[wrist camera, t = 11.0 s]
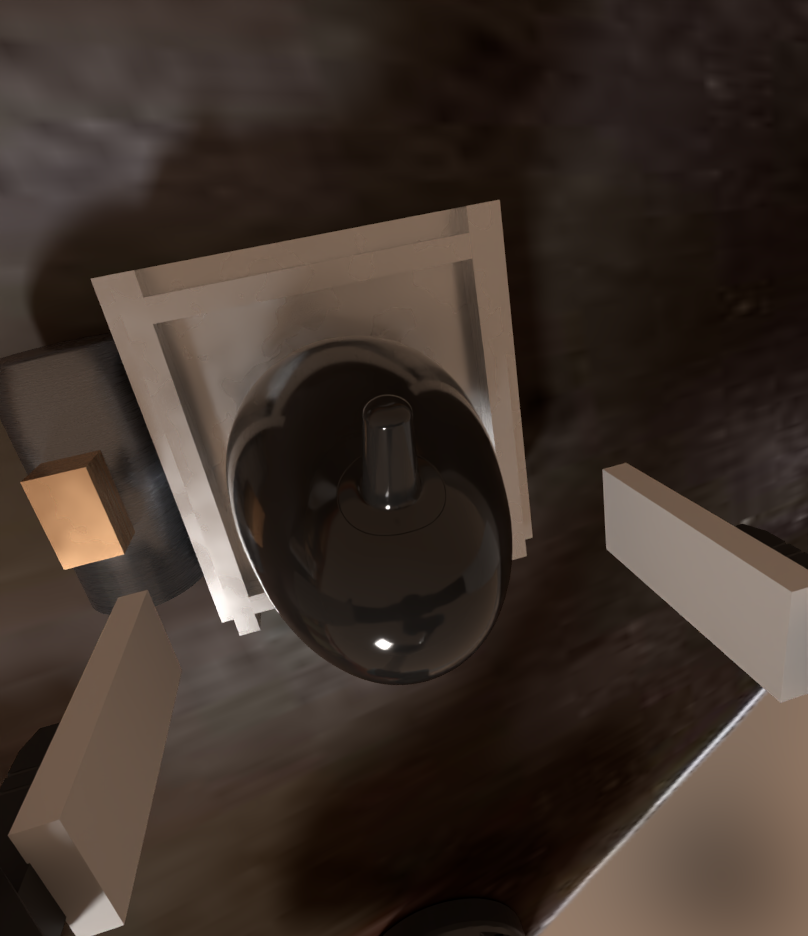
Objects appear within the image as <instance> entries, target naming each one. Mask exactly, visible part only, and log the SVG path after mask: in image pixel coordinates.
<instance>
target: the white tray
mask: <svg viewBox="0 0 808 936" xmlns="http://www.w3.org/2000/svg"><path fill="white" fill-rule="evenodd" d="M91 282H92V284H93V287H94V289H95V292H96V295H97V297H98V300H99V302H100V305H101V308H102V310H103V313H104V315H105V318H106V321H107V323H108V326H109V329H110V331H111V333H107V334H101V335H95V336H90V337H85V338H79V339H75V340H70V341H65V342H61V343H57V344H52V345H48V346H44V347H40V348H36V349H32V350H28V351H24V352H21V353H17V354H13V355H10V356H7V357H3V358H0V420H1V422H2V424H3V426H4V428H5V430H6V432H7V434H8V436H9V438H10V440H11V442H12V444H13V446H14V448H15V450H16V452H17V454H18V456H19V458H20V460H21V462H22V464H23V466H24V468H25V470H26V472H27V474H28V476H27V477H26V478H25V479H23V480H22V481H21V482H20V483H21V485H22V487H23V489H24V491H25V493H26V495H27V497H28V499H29V501H30V503H31V505H32V507H33V509H34V511H35V513H36V515H37V517H38V519H39V521H40V523H41V525H42V527H43V529H44V531H45V533H46V535H47V537H48V539H49V541H50V543H51V545H52V547H53V549H54V551H55V553H56V555H57V557H58V559H59V561H60V563H61V565H62V567H63V569H64V570H65V569H69V568H74V570H75V572H76V574H77V576H78V578H79V580H80V582H81V584H82V586H83V588H84V590H85V592H86V594H87V596H88V598H89V601H90V603H91V605H92V607H93V608H94V609H95V610H96V611H98V612H100V613H103V614H109V615H110V614H111V612H112V609H113V607H114V605H115V603H116V601H117V599H118V597H122V596H126V595H129V594H133V593H137V592H141V591H145V590H148V591H149V594H150V596H151V599H152V601H153V603H154V606H157V605H159V604H162V603H164V602H166V601H168V600H170V599H172V598H174V597H176V596H178V595H179V594H181V593H183V592H184V591H186V590H187V589H189V588H190V587H191V586H192V585H194V584H195V583H196V582H197V581H198V580H199V579H200V578H201V577H202V576H203V575H204V577H205V579H206V582H207V584H208V587H209V590H210V592H211V595H212V598H213V600H214V603H215V605H216V608H217V611H218V613H219V616H220V618H221V621H222V622H226V621H230V620H233V619H234V621H235V624H236V627H237V629H238V632H239V635H240V636H241V635H244V634H248V633H251V632H255V631H259V630H260V623H261V612H263V611H267V610H270V609H274V606H273V605H272V603H271V601H270V600H269V598H268V597H267V595H266V593H265V591H264V590H263V588H262V586H261V584H260V582H259V580H258V579H257V577H256V575H255V573H254V571H253V569H252V567H251V565H250V562H249V560H248V558H247V556H246V554H245V551H244V549H243V546H242V544H241V541H240V538H239V535H238V532H237V529H236V526H235V522H234V519H233V514H232V510H231V506H230V501H229V495H228V489H227V481H226V453H227V445H228V439H229V435H230V431H231V427H232V424H233V421H234V418H235V416H236V413H237V411H238V409H239V407H240V405H241V403H242V401H243V399H244V398H245V396H246V394H247V393H248V391H249V390H250V389H251V387H252V386H253V385H254V383H255V382H256V381H257V380H258V379H259V378H260V377H261V376H262V374H264V373H265V372H266V371H267V370H268V369H269V368H270V367H271V366H272V365H274V364H275V363H276V362H277V361H279V360H280V359H282V358H283V357H285V356H286V355H288V354H290V353H291V352H293V351H295V350H297V349H299V348H301V347H303V346H306V345H308V344H311V343H314V342H317V341H320V340H324V339H328V338H332V337H338V336H348V335H366V336H375V337H381V338H386V339H390V340H394V341H397V342H400V343H403V344H405V345H408V346H410V347H412V348H414V349H416V350H418V351H420V352H421V353H423V354H425V355H426V356H428V357H429V358H431V359H432V360H433V361H435V362H436V363H437V364H439V365H440V366H441V367H442V368H443V369H444V370H445V371H447V372H448V373H449V374H450V375H451V376H452V377H453V379H454V380H455V381H456V382H457V383H458V384H459V385H460V387H461V388H462V389H463V391H464V392H465V394H466V395H467V396H468V398H469V399H470V401H471V403H472V404H473V406H474V408H475V409H476V411H477V413H478V415H479V417H480V418H481V420H482V422H483V424H484V426H485V428H486V430H487V433H488V435H489V437H490V439H491V442H492V444H493V447H494V450H495V453H496V456H497V459H498V462H499V465H500V469H501V473H502V476H503V480H504V485H505V489H506V493H507V498H508V503H509V509H510V515H511V523H512V546H513V549H512V560H514V559H518V558H521V557H525V556H527V554H526V544H525V539H529V538H533V536H532V525H531V515H530V505H529V495H528V484H527V474H526V464H525V454H524V443H523V433H522V423H521V413H520V402H519V392H518V382H517V372H516V361H515V351H514V341H513V331H512V320H511V310H510V300H509V290H508V279H507V269H506V259H505V249H504V238H503V228H502V218H501V208H500V200H495V201H490V202H484V203H479V204H474V205H469V206H464V207H459V208H454V209H449V210H443V211H438V212H433V213H428V214H423V215H418V216H412V217H407V218H402V219H397V220H392V221H386V222H381V223H376V224H371V225H366V226H361V227H355V228H350V229H345V230H340V231H335V232H330V233H324V234H319V235H314V236H309V237H304V238H298V239H293V240H288V241H283V242H278V243H273V244H267V245H262V246H257V247H252V248H247V249H241V250H236V251H231V252H226V253H221V254H216V255H210V256H205V257H200V258H195V259H190V260H184V261H179V262H174V263H169V264H164V265H159V266H153V267H148V268H143V269H138V270H132V271H127V272H122V273H117V274H112V275H106V276H102V277H96V278H91Z"/></svg>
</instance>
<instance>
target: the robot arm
mask: <svg viewBox="0 0 808 936" xmlns="http://www.w3.org/2000/svg"><path fill="white" fill-rule="evenodd" d="M602 471H603V491H604V512H605V533H606V549H607V550H608V551H609V552H610V553H611V554H613V555H614V556H615V557H616V558H617V559H618V560H619V561H620V562H622V563H623V564H624V565H625V566H626V567H627V568H628V569H630V570H631V571H632V572H633V573H634V574H635V575H636V576H637V577H639V578H640V579H641V580H642V581H643V582H644V583H645V584H647V585H648V586H649V587H650V588H651V589H652V590H653V591H654V592H656V593H657V594H658V595H659V596H660V597H661V598H662V599H664V600H665V601H666V602H667V603H668V604H669V605H670V606H671V607H673V608H674V609H675V610H676V611H677V612H678V613H679V614H680V615H682V616H683V617H684V618H685V619H686V620H687V621H688V622H690V623H691V624H692V625H693V626H694V627H695V628H696V629H697V630H699V631H700V632H701V633H702V634H703V635H704V636H705V637H707V638H708V639H709V640H710V641H711V642H712V643H713V644H714V645H716V646H717V647H718V648H719V649H720V650H721V651H722V652H723V653H725V654H726V655H727V656H728V657H729V658H730V659H731V660H733V661H734V662H735V663H736V664H737V665H738V666H739V667H740V668H742V669H743V670H744V671H745V672H746V673H747V674H748V675H750V676H751V677H752V678H753V679H754V680H755V681H756V682H757V683H759V684H760V685H761V686H762V687H763V688H764V689H765V690H767V691H768V692H769V693H770V694H771V695H772V696H773V697H775V698H776V699H777V700H778V701H779V702H780V703H782V702H784V701H787V700H790V699H793V698H796V697H799V696H802V695H805V694H808V554H807V553H805V552H804V553H802V552H801V550H800V549H798V548H796V547H794V546H792V545H791V544H786V543H785V541H783V540H782V539H780V538H778V537H776V536H775V535H773V534H771V533H769V532H767V531H765V530H761V529H758V528H755V527H751V526H748V525H745V524H740V525H737V526H733V525H731V524H729V523H728V522H726V521H724V520H723V519H721V518H719V517H717V516H716V515H714V514H712V513H711V512H709V511H707V510H706V509H704V508H702V507H700V506H699V505H697V504H695V503H694V502H692V501H690V500H689V499H687V498H685V497H683V496H682V495H680V494H678V493H677V492H675V491H673V490H671V489H670V488H668V487H666V486H665V485H663V484H661V483H660V482H658V481H656V480H654V479H653V478H651V477H649V476H648V475H646V474H644V473H643V472H641V471H639V470H637V469H636V468H634V467H632V466H631V465H629V464H627V463H624V464H620V465H616V466H612V467H609V468H605V469H602ZM181 672H182V669H181V667H180V664H179V662H178V659H177V657H176V655H175V652H174V650H173V648H172V645H171V643H170V641H169V638H168V636H167V634H166V631H165V629H164V627H163V624H162V622H161V620H160V617H159V615H158V613H157V610H156V608H155V606H154V603H153V601H152V599H151V596H150V594H149V591H148V590H145V591H141V592H137V593H133V594H129V595H126V596H122V597H118V599H117V601H116V603H115V605H114V607H113V609H112V612H111V614H110V616H109V618H108V620H107V622H106V625H105V627H104V629H103V631H102V633H101V635H100V637H99V640H98V642H97V644H96V646H95V648H94V650H93V653H92V655H91V657H90V659H89V661H88V663H87V666H86V668H85V670H84V672H83V674H82V676H81V679H80V681H79V683H78V685H77V687H76V689H75V692H74V694H73V696H72V698H71V700H70V702H69V704H68V707H67V709H66V711H65V713H64V715H63V717H62V720H61V722H60V723H57V724H54V725H50V726H47V727H43V728H40V729H39V730H38V731H37V732H36V733H35V734H34V736H33V737H32V738H31V739H30V740H29V741H28V742H27V743H26V744H25V746H24V747H23V748H22V749H21V750H20V751H19V753H18V755H17V757H16V759H15V761H14V763H13V765H12V766H11V768H10V770H9V772H8V778H5V780H4V782H3V784H2V786H1V788H0V936H61V932H62V929H63V926H64V923H65V921H66V922H67V924H68V925H69V926H70V928H71V929H72V931H73V932H74V934H75V935H76V936H93V935H96V934H99V933H102V932H105V931H108V930H111V929H114V928H117V927H120V926H122V925H124V924H125V919H126V915H127V910H128V906H129V901H130V897H131V893H132V888H133V884H134V879H135V875H136V871H137V866H138V862H139V857H140V853H141V848H142V844H143V840H144V835H145V831H146V826H147V822H148V818H149V813H150V809H151V804H152V800H153V796H154V791H155V787H156V782H157V778H158V773H159V769H160V765H161V760H162V756H163V751H164V747H165V743H166V738H167V734H168V729H169V725H170V721H171V716H172V712H173V707H174V703H175V698H176V694H177V690H178V685H179V681H180V676H181ZM383 936H525V934H524V931H523V928H522V925H521V923H520V920H519V918H518V916H517V915H516V913H515V912H514V911H513V910H511V909H510V908H509V907H507V906H506V905H504V904H502V903H499V902H496V901H492V900H488V899H478V898H469V899H458V900H452V901H448V902H443V903H440V904H436V905H433V906H430V907H428V908H425V909H423V910H421V911H418V912H416V913H414V914H412V915H410V916H409V917H407V918H405V919H404V920H402V921H400V922H399V923H397V924H396V925H395V926H393V927H392V928H391V929H389V930H388V931H387V932H386V933H385V934H384V935H383Z"/></svg>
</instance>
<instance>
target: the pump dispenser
mask: <svg viewBox="0 0 808 936" xmlns="http://www.w3.org/2000/svg"><path fill="white" fill-rule="evenodd" d="M226 481H227V489H228V495H229V501H230V506H231V510H232V514H233V519H234V522H235V526H236V529H237V532H238V535H239V538H240V541H241V544H242V546H243V549H244V551H245V554H246V556H247V558H248V560H249V562H250V565H251V567H252V569H253V571H254V573H255V575H256V577H257V579H258V580H259V582H260V584H261V586H262V588H263V590H264V591H265V593H266V595H267V597H268V598H269V600H270V601H271V603H272V605H273V606H274V608H275V609H276V610H277V612H278V613H279V615H280V616H281V617H282V619H283V620H284V621H285V622H286V624H287V625H288V626H289V627H290V628H291V629H292V631H293V632H294V633H295V634H296V635H297V636H298V637H299V638H300V639H301V640H302V641H303V642H304V643H305V644H306V645H307V646H308V647H309V648H310V649H312V650H313V651H314V652H315V653H317V654H318V655H319V656H320V657H322V658H323V659H325V660H326V661H328V662H329V663H331V664H332V665H334V666H336V667H338V668H339V669H341V670H343V671H345V672H347V673H349V674H351V675H353V676H356V677H358V678H361V679H364V680H367V681H371V682H375V683H380V684H388V685H408V684H416V683H421V682H425V681H429V680H432V679H435V678H437V677H440V676H442V675H444V674H446V673H448V672H450V671H452V670H453V669H455V668H457V667H458V666H460V665H461V664H462V663H464V662H465V661H466V660H467V659H468V658H470V657H471V656H472V655H473V654H474V653H475V652H476V651H477V650H478V649H479V647H480V646H481V645H482V644H483V642H484V641H485V640H486V638H487V637H488V635H489V634H490V632H491V630H492V629H493V627H494V625H495V623H496V621H497V619H498V616H499V614H500V611H501V609H502V606H503V603H504V600H505V597H506V593H507V589H508V585H509V580H510V574H511V566H512V549H513V546H512V523H511V515H510V509H509V503H508V498H507V493H506V489H505V485H504V480H503V476H502V473H501V469H500V465H499V462H498V459H497V456H496V453H495V450H494V447H493V444H492V442H491V439H490V437H489V435H488V433H487V430H486V428H485V426H484V424H483V422H482V420H481V418H480V417H479V415H478V413H477V411H476V409H475V408H474V406H473V404H472V403H471V401H470V399H469V398H468V396H467V395H466V394H465V392H464V391H463V389H462V388H461V387H460V385H459V384H458V383H457V382H456V381H455V380H454V379H453V377H452V376H451V375H450V374H449V373H448V372H447V371H445V370H444V369H443V368H442V367H441V366H440V365H439V364H437V363H436V362H435V361H433V360H432V359H431V358H429V357H428V356H426V355H425V354H423V353H421V352H420V351H418V350H416V349H414V348H412V347H410V346H408V345H405V344H403V343H400V342H397V341H394V340H390V339H386V338H381V337H375V336H366V335H348V336H338V337H332V338H328V339H324V340H320V341H317V342H314V343H311V344H308V345H306V346H303V347H301V348H299V349H297V350H295V351H293V352H291V353H290V354H288V355H286V356H285V357H283V358H282V359H280V360H279V361H277V362H276V363H275V364H274V365H272V366H271V367H270V368H269V369H268V370H267V371H266V372H265V373H264V374H262V376H261V377H260V378H259V379H258V380H257V381H256V382H255V383H254V385H253V386H252V387H251V389H250V390H249V391H248V393H247V394H246V396H245V398H244V399H243V401H242V403H241V405H240V407H239V409H238V411H237V413H236V416H235V418H234V421H233V424H232V427H231V431H230V435H229V439H228V445H227V453H226Z"/></svg>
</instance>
